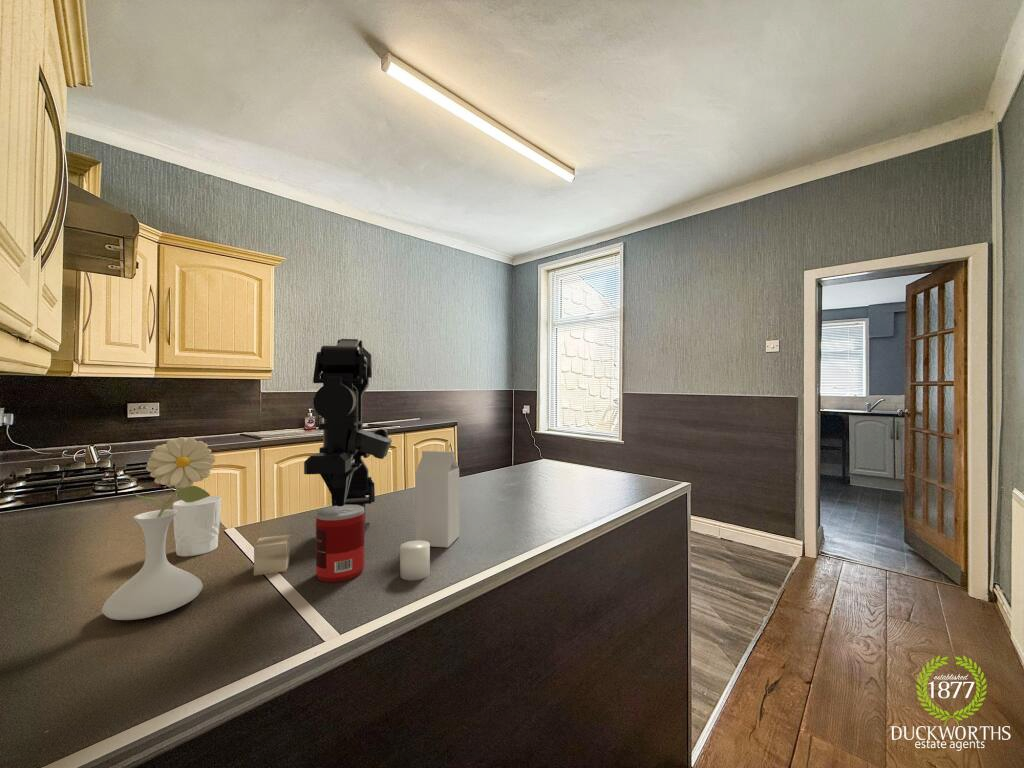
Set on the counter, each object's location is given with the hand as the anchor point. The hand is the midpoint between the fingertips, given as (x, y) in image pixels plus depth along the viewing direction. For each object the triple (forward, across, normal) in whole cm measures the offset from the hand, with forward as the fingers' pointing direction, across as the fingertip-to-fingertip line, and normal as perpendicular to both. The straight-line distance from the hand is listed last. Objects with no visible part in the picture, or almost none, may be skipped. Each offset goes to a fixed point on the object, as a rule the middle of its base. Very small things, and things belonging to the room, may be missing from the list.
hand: (340, 505), depth 75 cm
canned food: (+12, 0, 0) cm, 12 cm away
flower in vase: (+12, -9, +23) cm, 27 cm away
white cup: (+12, +15, +32) cm, 37 cm away
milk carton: (+12, +14, -16) cm, 24 cm away
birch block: (+12, +4, +13) cm, 18 cm away
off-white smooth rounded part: (+12, -2, -13) cm, 18 cm away
